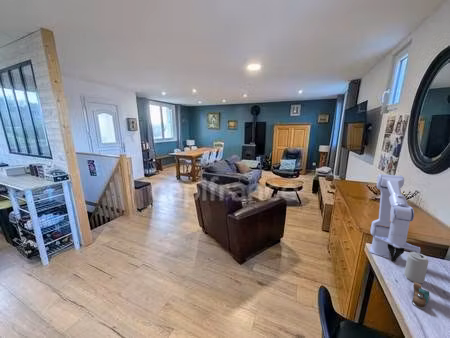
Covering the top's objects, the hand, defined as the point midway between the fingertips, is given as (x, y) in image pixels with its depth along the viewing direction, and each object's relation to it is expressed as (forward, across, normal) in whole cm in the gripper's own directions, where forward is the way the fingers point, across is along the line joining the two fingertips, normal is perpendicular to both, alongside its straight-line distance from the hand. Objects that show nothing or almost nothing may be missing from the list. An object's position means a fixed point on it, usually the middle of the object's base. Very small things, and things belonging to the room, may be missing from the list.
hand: (393, 260), depth 82 cm
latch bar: (+9, +8, -6) cm, 13 cm away
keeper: (+9, +10, -7) cm, 15 cm away
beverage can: (+10, +8, +7) cm, 14 cm away
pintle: (+9, +8, -10) cm, 16 cm away
